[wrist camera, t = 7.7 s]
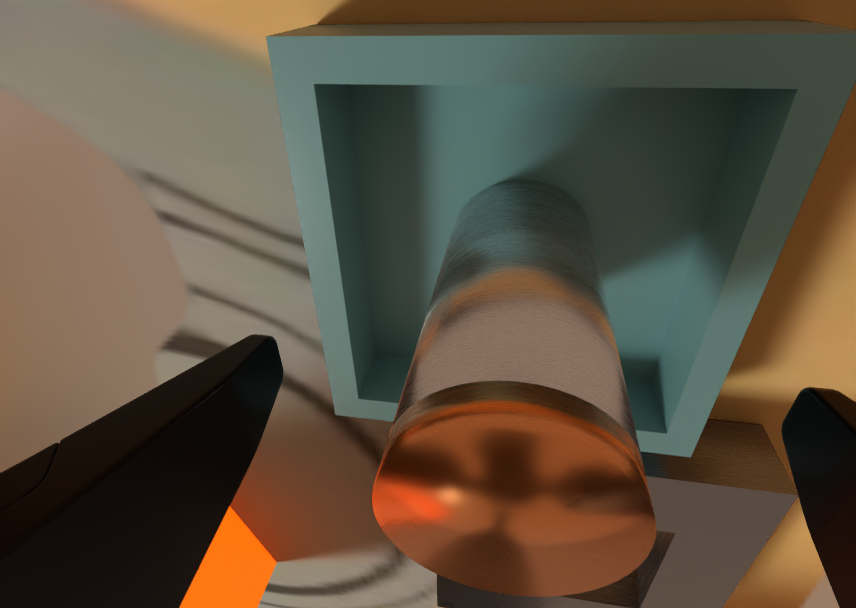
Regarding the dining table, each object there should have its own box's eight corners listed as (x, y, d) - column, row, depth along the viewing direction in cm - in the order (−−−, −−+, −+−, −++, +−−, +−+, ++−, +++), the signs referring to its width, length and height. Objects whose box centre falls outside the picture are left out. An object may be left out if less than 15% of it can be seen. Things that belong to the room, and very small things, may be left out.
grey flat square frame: (676, 584, 21) (692, 651, 19) (446, 548, 22) (437, 606, 20) (762, 425, 15) (798, 495, 13) (445, 391, 17) (434, 449, 15)
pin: (580, 308, 13) (623, 613, 7) (450, 298, 14) (382, 572, 8) (604, 182, 11) (694, 453, 5) (450, 176, 12) (358, 413, 6)
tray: (668, 391, 15) (690, 457, 13) (359, 360, 17) (335, 414, 15) (802, 20, 9) (877, 33, 7) (314, 24, 11) (266, 36, 9)
